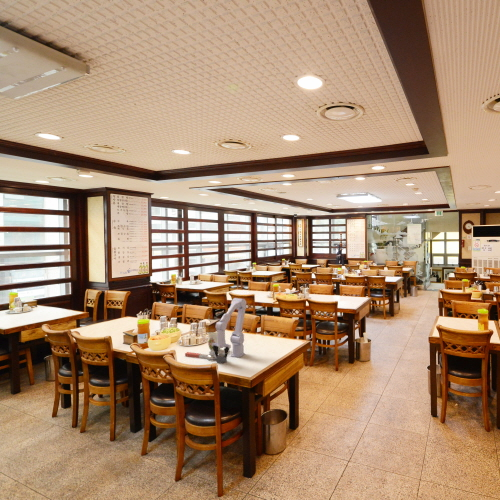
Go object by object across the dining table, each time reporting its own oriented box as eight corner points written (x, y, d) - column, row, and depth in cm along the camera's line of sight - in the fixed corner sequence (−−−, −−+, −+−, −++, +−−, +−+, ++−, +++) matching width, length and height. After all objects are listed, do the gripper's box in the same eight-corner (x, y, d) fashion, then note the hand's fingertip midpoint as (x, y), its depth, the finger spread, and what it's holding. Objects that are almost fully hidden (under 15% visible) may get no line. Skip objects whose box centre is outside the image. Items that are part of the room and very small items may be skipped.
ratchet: (183, 357, 266) (183, 350, 266) (189, 353, 273) (189, 347, 273) (214, 361, 256) (214, 353, 255) (219, 357, 263) (219, 350, 263)
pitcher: (222, 353, 272) (222, 336, 272) (202, 351, 280) (202, 334, 279) (228, 349, 282) (228, 332, 282) (209, 347, 290) (209, 330, 289)
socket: (220, 360, 257) (219, 353, 257) (226, 361, 255) (226, 354, 255) (216, 362, 252) (216, 355, 252) (223, 363, 250) (223, 356, 249)
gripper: (209, 338, 252) (210, 357, 252) (227, 340, 246) (227, 359, 247) (214, 336, 258) (214, 354, 259) (231, 338, 253) (232, 356, 253)
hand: (221, 356), depth 253 cm, fingers open, 7 cm apart
